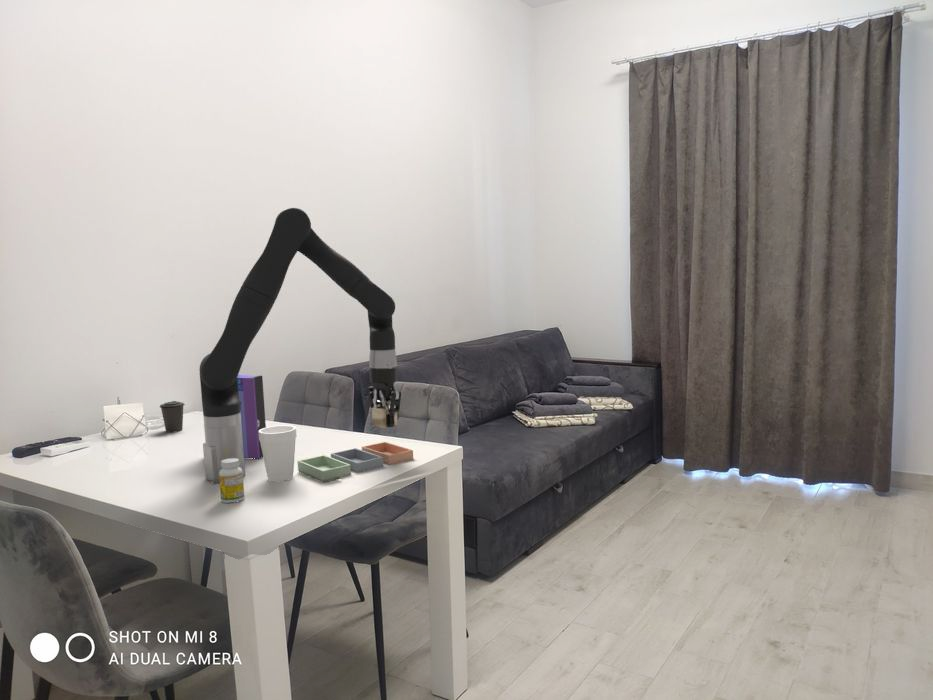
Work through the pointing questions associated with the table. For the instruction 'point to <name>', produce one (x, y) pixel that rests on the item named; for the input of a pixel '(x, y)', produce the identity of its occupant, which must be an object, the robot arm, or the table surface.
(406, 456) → the terracotta tray
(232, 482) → the supplement bottle
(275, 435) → the foam cup
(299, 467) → the sage tray
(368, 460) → the slate tray
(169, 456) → the table surface
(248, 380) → the cereal box
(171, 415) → the coffee cup
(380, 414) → the letter cube
